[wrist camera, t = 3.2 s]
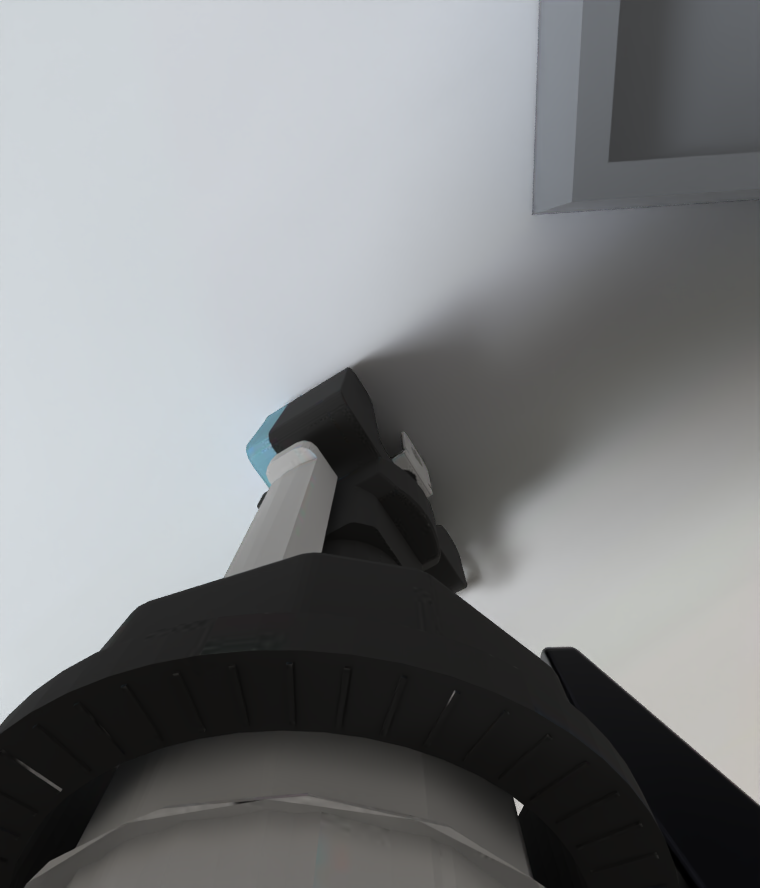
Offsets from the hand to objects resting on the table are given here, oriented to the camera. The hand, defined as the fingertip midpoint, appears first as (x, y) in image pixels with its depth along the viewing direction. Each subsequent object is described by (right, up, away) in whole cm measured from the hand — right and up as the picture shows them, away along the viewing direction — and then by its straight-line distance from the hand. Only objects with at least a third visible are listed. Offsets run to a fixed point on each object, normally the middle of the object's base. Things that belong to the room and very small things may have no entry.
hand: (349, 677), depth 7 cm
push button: (0, +2, +6) cm, 6 cm away
